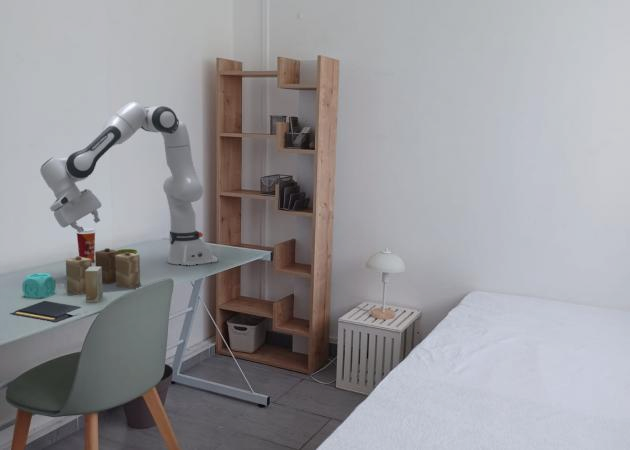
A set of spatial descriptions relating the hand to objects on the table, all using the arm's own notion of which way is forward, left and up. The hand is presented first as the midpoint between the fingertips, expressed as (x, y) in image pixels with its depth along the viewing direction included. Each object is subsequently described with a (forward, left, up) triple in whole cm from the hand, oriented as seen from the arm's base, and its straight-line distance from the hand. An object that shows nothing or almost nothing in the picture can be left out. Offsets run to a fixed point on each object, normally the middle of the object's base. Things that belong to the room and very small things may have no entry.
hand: (90, 226), depth 240 cm
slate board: (-2, +16, -21) cm, 26 cm away
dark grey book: (+18, +39, -22) cm, 48 cm away
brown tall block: (-11, +20, -20) cm, 30 cm away
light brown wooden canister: (+7, +21, -20) cm, 30 cm away
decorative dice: (+20, +20, -21) cm, 36 cm away
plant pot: (-15, -7, -21) cm, 27 cm away
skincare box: (+3, +33, -21) cm, 40 cm away
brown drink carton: (-5, +11, -20) cm, 23 cm away
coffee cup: (-2, -30, -21) cm, 37 cm away
